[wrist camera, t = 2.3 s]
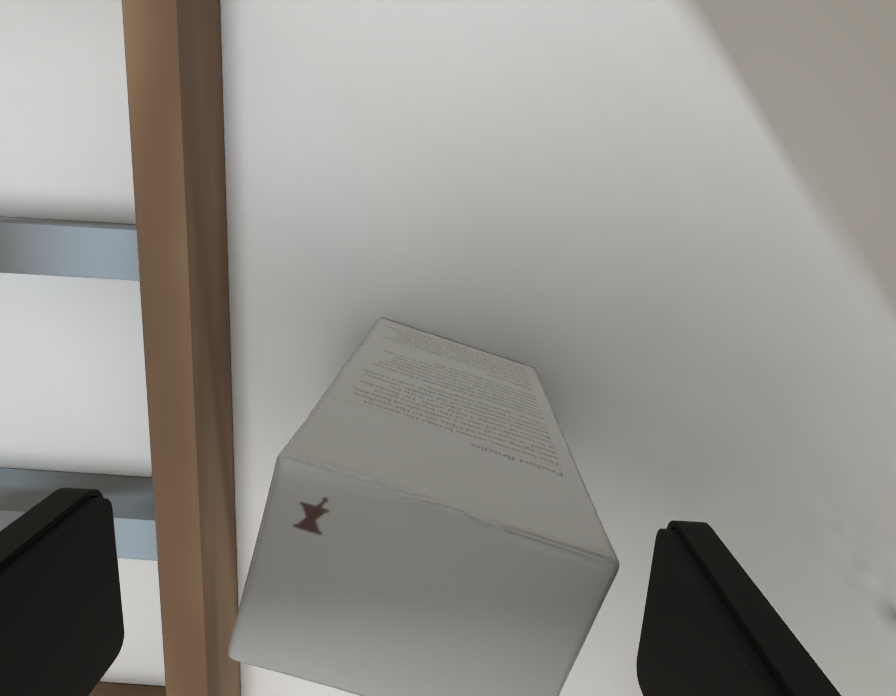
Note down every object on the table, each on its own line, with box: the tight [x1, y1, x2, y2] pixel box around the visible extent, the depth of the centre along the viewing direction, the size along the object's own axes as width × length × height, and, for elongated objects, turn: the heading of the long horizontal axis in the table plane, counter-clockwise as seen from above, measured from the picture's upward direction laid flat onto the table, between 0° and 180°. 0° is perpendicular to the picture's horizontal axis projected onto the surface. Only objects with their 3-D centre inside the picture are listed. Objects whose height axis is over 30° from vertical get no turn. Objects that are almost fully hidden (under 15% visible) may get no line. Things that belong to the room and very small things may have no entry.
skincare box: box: [228, 318, 619, 696], centre depth 16 cm, size 6×4×12 cm
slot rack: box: [0, 0, 241, 696], centre depth 20 cm, size 10×30×3 cm, turn 177°
